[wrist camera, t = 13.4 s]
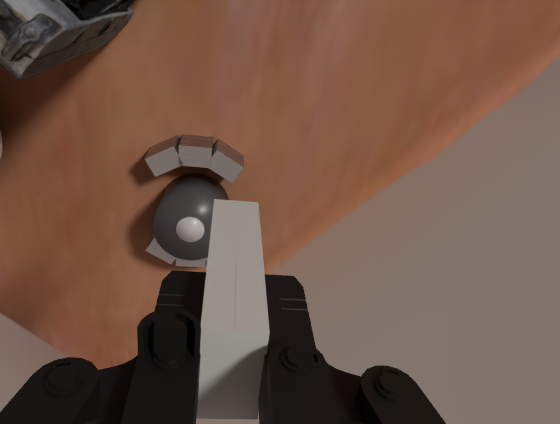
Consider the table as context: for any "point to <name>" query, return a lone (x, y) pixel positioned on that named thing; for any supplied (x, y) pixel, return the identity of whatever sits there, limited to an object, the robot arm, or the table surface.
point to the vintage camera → (55, 31)
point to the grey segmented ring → (195, 155)
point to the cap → (187, 216)
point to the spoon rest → (0, 145)
